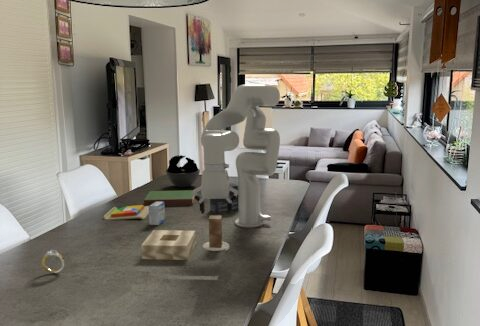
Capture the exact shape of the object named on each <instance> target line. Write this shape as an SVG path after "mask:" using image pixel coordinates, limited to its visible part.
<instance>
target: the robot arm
mask: <svg viewBox="0 0 480 326" xmlns="http://www.w3.org/2000/svg"><path fill="white" fill-rule="evenodd" d="M280 93H281V92H280V90H279V89H278V88H277V86H275V85H269V84H263V83H262V84H261V83H260V84H259V83H256V84H255V83H251V84H249V83H247V84H241V85H238V86H237V87H236V88H235V90H234V92H233V94H232V96H231V99H230V100H229V103H228V104H227V106H226V108H225V109H223V110H222V111H220V112H218V113H217V114H215V115H214V116H213V117H211V118H210V119H209V120H208V121H207V123H206V125H205V126H204V128H203V131H202V133H201V137H200V143H201V146H202V150H203V169H204V170H202V173H201V180H200V181H201V185H200V186H198V187H197V188H195V189H193V191H192V194H193V196H194V200H196V201H197V202H198V204H199V212H201V215H203V214H204V213H205V211H206V209H205V200H206V199H209V200H210V199H223V198H225V199H226V200H227V201H228V203H227V210H228V212H227V214H228V215H230V214H231V212H232V202H233V201H234V200H235V199H236V197H237V195H238V206H239V209H238V218H236V219H235V220H234V224H235V225H236V226H237V227H241V228H246V229H247V228H248V229H252V228H253V229H254V228H258V227H261V226H263V225H264V224H265V221H271V220H272V219H271V218H272V216H270V215H268V214H262V211H261V183H260V179H258V176H267V177H269V176H273V175H274V174H275V173H276V170H277V166H278V165H277V164H278V161H279V160H278V159H279V151H280V145H281V135H280V132H279V131H278V130H277V129H276V128H266V122H267V118H266V115H265V113H264V112H263V110H262V109H261V108H260V107H275V106H277V105H278V104H279V102H280V99H281V94H280ZM244 121H246V122H245V126H244V133H243V139H242V144H243V146H244V148H245V149H247V150H253V151H243V152H241V153H239V154H237V156H236V157H235V169H236V173H237V185H238V190H237V189H235V188H233V187H231V186H229V184H230V179H229V178H230V177H229V173H228V170H227V169H229V167H230V165H229V164H227V163H226V157H225V152H230V151H231V152H232V151H234V150H235V149H237V147H239V144H240V137H239V134H238V133H237V132H236V131H234V130H224V129H226V128H229V127H231V126H236V125H239V124H241V123H243V122H244ZM255 151H256V152H255ZM257 151H265V152H257ZM230 191H232V192H234V195H233V196H232V197H230V196H229V193H230ZM198 192H200V194H201V195H198Z"/></svg>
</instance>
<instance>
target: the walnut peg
mask: <svg viewBox="0 0 480 326" xmlns="http://www.w3.org/2000/svg"><path fill="white" fill-rule="evenodd" d="M222 217H223V216H222V215H209V217H208V242H209V248H221V247H222V241H223V218H222Z"/></svg>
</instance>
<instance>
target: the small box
mask: <svg viewBox="0 0 480 326" xmlns="http://www.w3.org/2000/svg"><path fill="white" fill-rule="evenodd" d="M229 186H231V187H233V188H235V189H237V190H238V184H235V183H231V182H230V183H229ZM233 195H234V192H232V191H230V193H229V196H230V197H232V196H233ZM209 202H210V203H209V206H210V208H209V209H210V212H212V213H215V214H218V215H219V214H221V213H228V210H227V203H228V201H227V200H226V199H225V198H223V199H209ZM237 210H238V211H239V206H238V195H237V197H236V199H235V200H234V201H233V202H232V211H237ZM232 211H231V212H232Z"/></svg>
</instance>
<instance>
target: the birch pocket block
mask: <svg viewBox="0 0 480 326" xmlns="http://www.w3.org/2000/svg"><path fill="white" fill-rule="evenodd" d="M196 244H197V243H196V230H176V229H175V230H172V229H171V230H170V229H169V230H168V229H165V230H163V229H153V230H152V231H151V233H149V235H148V236H147V237H146V239H145V240H144V241H143V243H142V244H141V245H140V246H141V260H165V261H167V260H172V261H174V260H175V261H176V260H177V261H188V260H189V258H190V256H191V255H192V252H193V250H194V247H195V246H196Z"/></svg>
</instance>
